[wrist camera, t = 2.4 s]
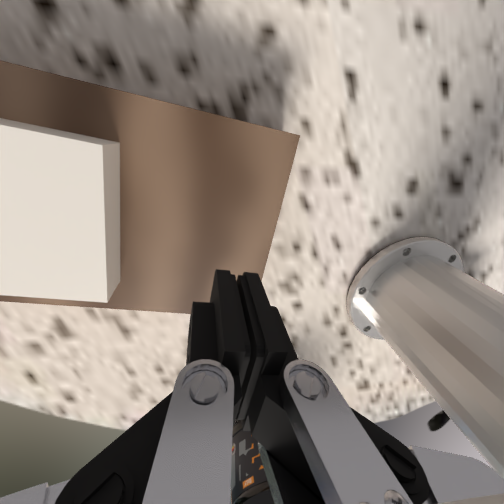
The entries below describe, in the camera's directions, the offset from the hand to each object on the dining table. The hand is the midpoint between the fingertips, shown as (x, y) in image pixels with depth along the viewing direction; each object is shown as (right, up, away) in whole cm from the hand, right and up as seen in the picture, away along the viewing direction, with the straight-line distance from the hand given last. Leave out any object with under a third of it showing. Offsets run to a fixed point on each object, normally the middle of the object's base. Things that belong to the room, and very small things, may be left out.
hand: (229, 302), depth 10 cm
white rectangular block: (-10, +4, +4) cm, 11 cm away
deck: (-9, +6, +9) cm, 14 cm away
